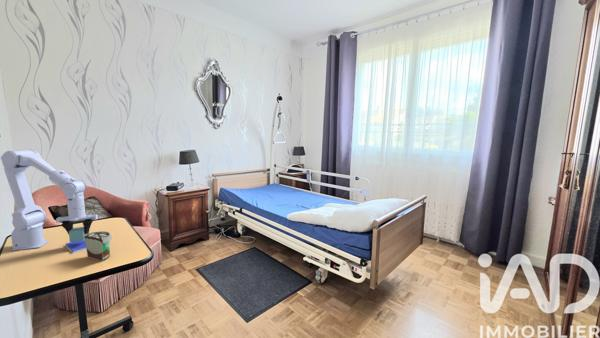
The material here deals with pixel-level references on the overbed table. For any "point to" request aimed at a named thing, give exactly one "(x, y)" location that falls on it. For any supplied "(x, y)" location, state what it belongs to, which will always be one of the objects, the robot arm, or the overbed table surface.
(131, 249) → the overbed table surface
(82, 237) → the cube
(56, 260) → the overbed table surface
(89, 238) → the food container
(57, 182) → the robot arm
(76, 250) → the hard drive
